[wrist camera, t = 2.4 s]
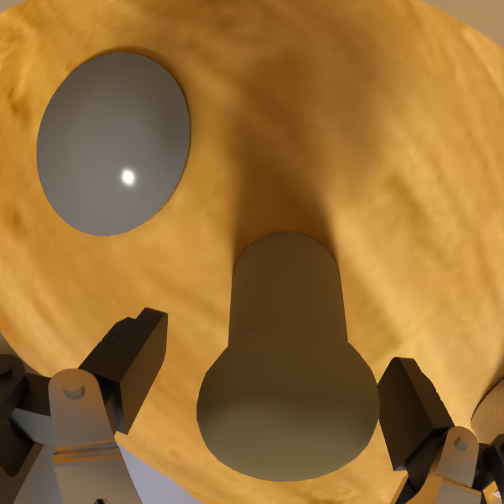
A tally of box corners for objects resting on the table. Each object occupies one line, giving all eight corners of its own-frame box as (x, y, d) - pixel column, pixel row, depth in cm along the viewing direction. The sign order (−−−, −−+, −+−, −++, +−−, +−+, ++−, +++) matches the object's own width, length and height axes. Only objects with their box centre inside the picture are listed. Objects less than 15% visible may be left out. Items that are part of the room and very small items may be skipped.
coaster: (210, 56, 13) (208, 52, 12) (174, 250, 16) (170, 254, 16) (59, 62, 13) (53, 60, 13) (37, 217, 17) (32, 218, 16)
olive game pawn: (258, 212, 15) (212, 325, 5) (359, 260, 16) (454, 405, 5) (216, 306, 17) (149, 466, 7) (308, 344, 17) (322, 509, 7)
